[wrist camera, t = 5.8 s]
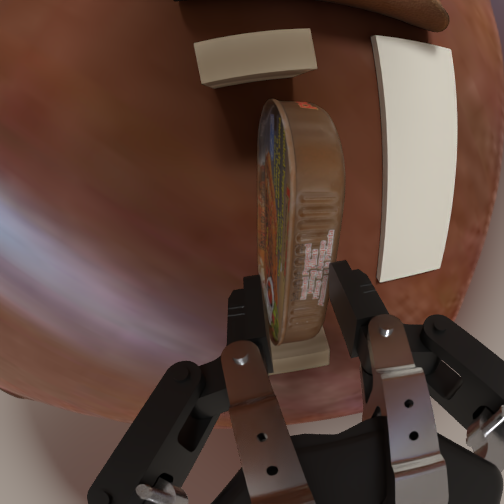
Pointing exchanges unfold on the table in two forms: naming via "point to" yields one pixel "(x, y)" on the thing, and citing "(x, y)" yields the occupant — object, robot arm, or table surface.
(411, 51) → the tile
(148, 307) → the table surface
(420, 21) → the sunglasses case
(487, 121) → the table surface
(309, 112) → the tin
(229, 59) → the tin stand
